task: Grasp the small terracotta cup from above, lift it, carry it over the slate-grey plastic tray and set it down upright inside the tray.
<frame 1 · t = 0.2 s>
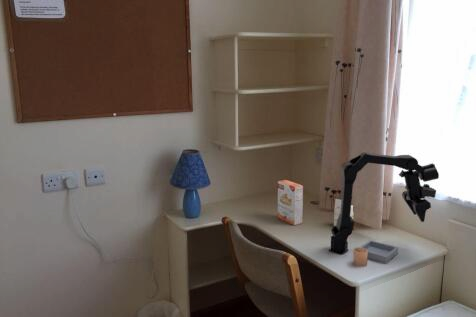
hand: (419, 217, 189), 15 cm above the table, tool pointing down, fingers open, 9 cm apart
cracker box: (289, 221, 231), on the table
terracotta cup: (360, 263, 180), on the table
tray: (377, 254, 189), on the table
ink cartridge box: (343, 227, 222), on the table
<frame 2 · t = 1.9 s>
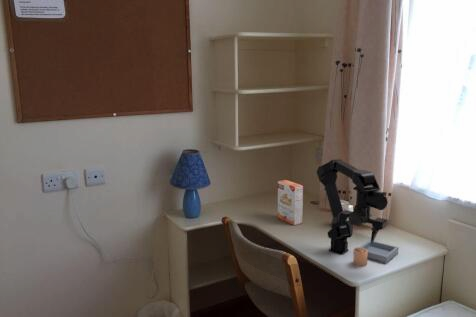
hand: (361, 239, 178), 11 cm above the table, tool pointing down, fingers open, 9 cm apart
nothing on the table moved.
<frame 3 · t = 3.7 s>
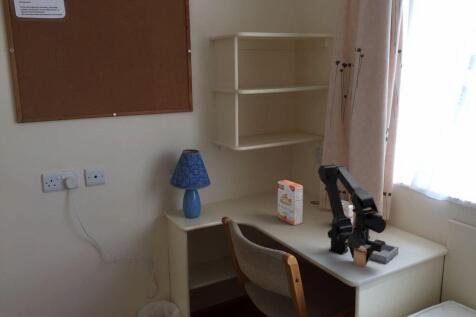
hand: (360, 260, 180), 1 cm above the table, tool pointing down, fingers closed on terracotta cup, 5 cm apart
terracotta cup: (360, 263, 180), on the table, touching gripper
everything else where it was.
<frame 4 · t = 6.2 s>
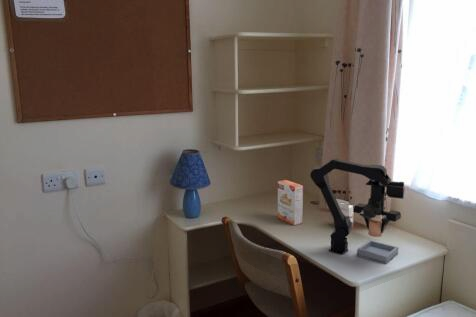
hand: (375, 231, 184), 12 cm above the table, tool pointing down, fingers closed on terracotta cup, 5 cm apart
terracotta cup: (375, 234, 185), point 10 cm above the table, touching gripper
everything else where it was.
when the fingers open (4 cm above the table, at t = 8.7 s): terracotta cup drops 2 cm, resting on tray.
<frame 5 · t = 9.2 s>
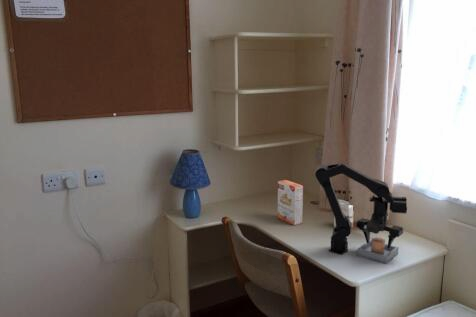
hand: (378, 245, 188), 4 cm above the table, tool pointing down, fingers open, 9 cm apart
terracotta cup: (377, 252, 189), point 1 cm above the table, touching tray
everything else where it was.
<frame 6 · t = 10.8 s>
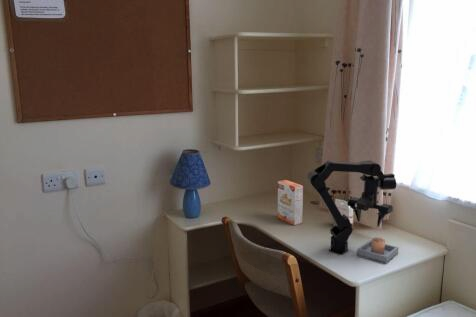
hand: (368, 224, 192), 12 cm above the table, tool pointing down, fingers open, 9 cm apart
nothing on the table moved.
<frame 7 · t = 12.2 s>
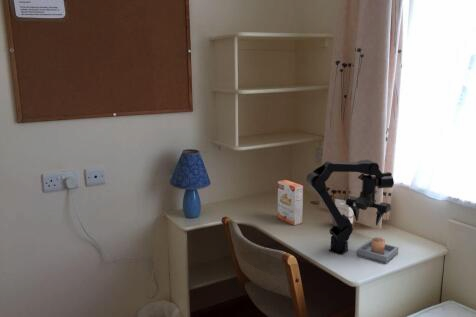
hand: (366, 222, 193), 12 cm above the table, tool pointing down, fingers open, 9 cm apart
nothing on the table moved.
at the end: terracotta cup 0.0 cm off-centre on the tray, point 0.8 cm above the tray's base; terracotta cup tilted 0°; the gripper is holding nothing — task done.
